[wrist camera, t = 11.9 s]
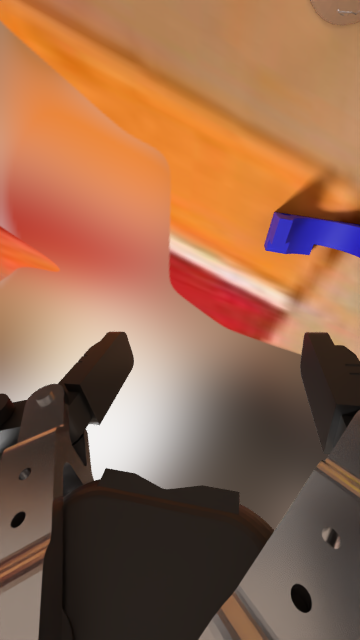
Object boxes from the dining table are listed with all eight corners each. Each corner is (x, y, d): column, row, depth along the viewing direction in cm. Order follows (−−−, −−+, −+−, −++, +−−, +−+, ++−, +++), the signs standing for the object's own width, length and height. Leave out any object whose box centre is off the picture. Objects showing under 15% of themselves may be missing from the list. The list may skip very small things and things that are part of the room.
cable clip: (264, 245, 34) (267, 256, 29) (274, 211, 32) (279, 218, 27) (351, 259, 33) (370, 274, 28) (369, 225, 30) (393, 235, 25)
